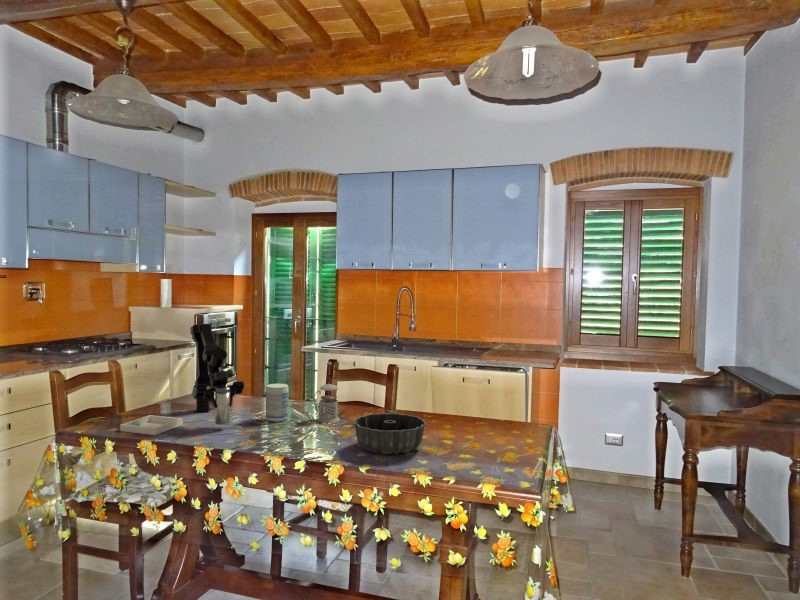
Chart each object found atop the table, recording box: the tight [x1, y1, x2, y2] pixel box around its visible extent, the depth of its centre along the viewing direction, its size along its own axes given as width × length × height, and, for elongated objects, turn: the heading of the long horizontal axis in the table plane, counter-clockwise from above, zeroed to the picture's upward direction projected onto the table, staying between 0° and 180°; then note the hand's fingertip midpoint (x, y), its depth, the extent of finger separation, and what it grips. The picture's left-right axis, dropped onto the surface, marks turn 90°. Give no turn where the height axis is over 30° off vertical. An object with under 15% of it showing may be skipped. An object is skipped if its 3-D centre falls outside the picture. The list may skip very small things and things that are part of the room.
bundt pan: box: [353, 412, 427, 455], centre depth 203 cm, size 26×26×10 cm
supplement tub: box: [265, 383, 289, 423], centre depth 239 cm, size 10×10×15 cm
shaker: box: [214, 385, 231, 425], centre depth 222 cm, size 6×6×14 cm
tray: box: [119, 414, 184, 436], centre depth 220 cm, size 16×16×3 cm
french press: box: [312, 361, 341, 423], centre depth 241 cm, size 10×12×25 cm
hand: (223, 406), depth 221 cm, fingers closed on shaker, 5 cm apart
